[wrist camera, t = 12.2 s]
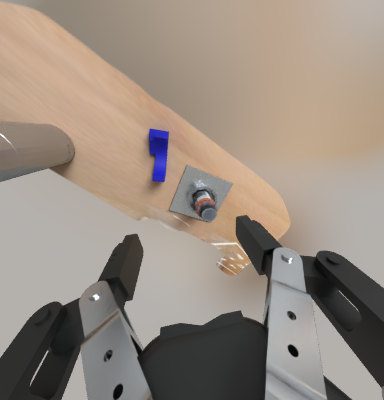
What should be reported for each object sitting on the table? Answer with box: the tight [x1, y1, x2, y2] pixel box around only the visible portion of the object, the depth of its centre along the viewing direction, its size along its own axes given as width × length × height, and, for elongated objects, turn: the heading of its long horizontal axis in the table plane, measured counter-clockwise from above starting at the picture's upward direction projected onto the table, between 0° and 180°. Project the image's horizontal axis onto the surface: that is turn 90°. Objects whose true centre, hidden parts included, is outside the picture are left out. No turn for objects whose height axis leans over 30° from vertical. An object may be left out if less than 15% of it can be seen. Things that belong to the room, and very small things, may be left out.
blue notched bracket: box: [149, 129, 169, 182], centre depth 36 cm, size 12×4×6 cm, turn 171°
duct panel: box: [169, 165, 233, 222], centre depth 44 cm, size 16×16×4 cm
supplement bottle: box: [193, 189, 217, 221], centre depth 40 cm, size 6×6×11 cm
